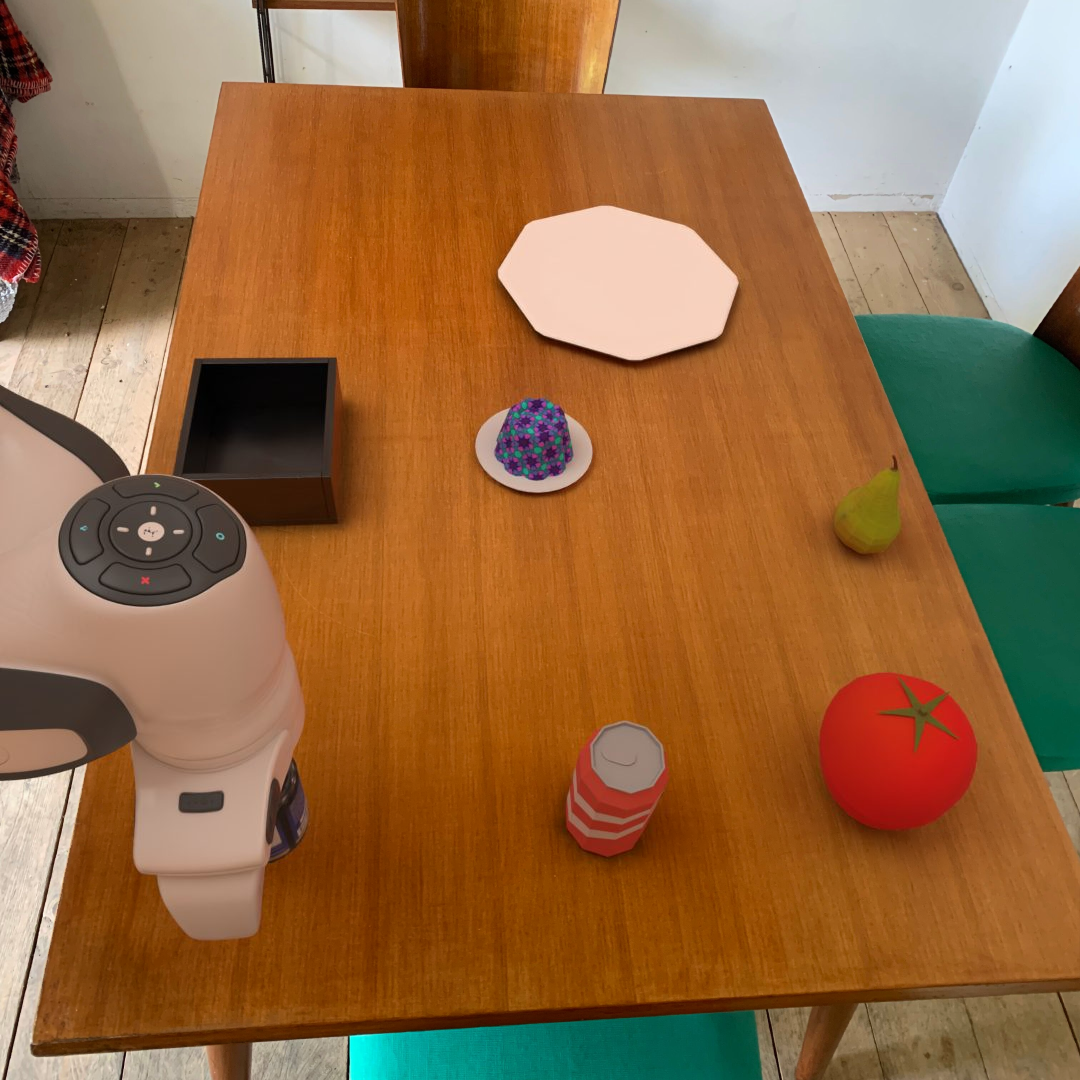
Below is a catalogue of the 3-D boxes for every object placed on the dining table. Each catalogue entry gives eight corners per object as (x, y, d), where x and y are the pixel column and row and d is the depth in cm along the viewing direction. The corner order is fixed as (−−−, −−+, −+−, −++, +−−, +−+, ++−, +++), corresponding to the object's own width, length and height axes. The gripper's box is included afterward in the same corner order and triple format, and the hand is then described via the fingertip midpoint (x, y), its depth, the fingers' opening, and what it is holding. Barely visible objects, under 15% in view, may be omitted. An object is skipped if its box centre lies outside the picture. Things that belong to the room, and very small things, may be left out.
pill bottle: (266, 766, 67) (243, 695, 58) (328, 815, 65) (313, 750, 57) (201, 832, 64) (165, 767, 55) (264, 886, 62) (238, 828, 53)
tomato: (950, 850, 72) (1031, 787, 62) (817, 857, 71) (879, 795, 61) (904, 718, 79) (971, 643, 69) (783, 723, 78) (833, 647, 68)
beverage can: (575, 771, 74) (593, 703, 64) (651, 795, 73) (682, 730, 64) (554, 842, 70) (570, 782, 61) (634, 869, 70) (664, 812, 60)
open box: (189, 527, 85) (171, 480, 80) (208, 407, 94) (194, 357, 89) (338, 523, 87) (330, 476, 81) (343, 406, 96) (336, 356, 91)
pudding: (508, 395, 99) (510, 358, 95) (609, 436, 96) (617, 400, 92) (453, 468, 92) (453, 432, 88) (561, 514, 90) (566, 479, 85)
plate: (703, 390, 102) (706, 380, 100) (470, 323, 105) (471, 313, 104) (749, 252, 118) (752, 242, 117) (546, 198, 122) (547, 188, 120)
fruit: (897, 563, 89) (950, 483, 80) (837, 568, 88) (884, 488, 79) (872, 511, 93) (921, 429, 83) (815, 516, 92) (857, 434, 82)
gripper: (187, 554, 56) (227, 666, 67) (125, 899, 44) (186, 966, 55) (293, 553, 57) (315, 664, 68) (261, 891, 45) (294, 959, 56)
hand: (257, 801), depth 61 cm, fingers closed on pill bottle, 6 cm apart
